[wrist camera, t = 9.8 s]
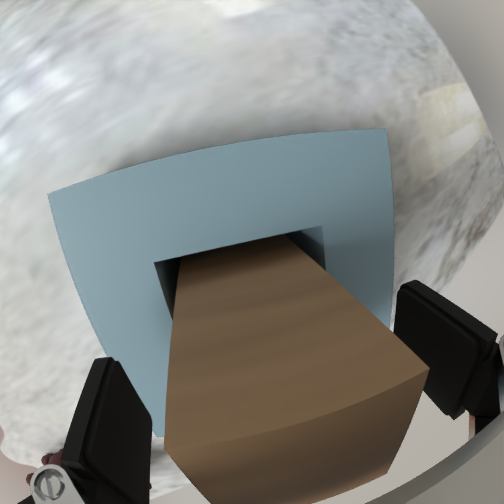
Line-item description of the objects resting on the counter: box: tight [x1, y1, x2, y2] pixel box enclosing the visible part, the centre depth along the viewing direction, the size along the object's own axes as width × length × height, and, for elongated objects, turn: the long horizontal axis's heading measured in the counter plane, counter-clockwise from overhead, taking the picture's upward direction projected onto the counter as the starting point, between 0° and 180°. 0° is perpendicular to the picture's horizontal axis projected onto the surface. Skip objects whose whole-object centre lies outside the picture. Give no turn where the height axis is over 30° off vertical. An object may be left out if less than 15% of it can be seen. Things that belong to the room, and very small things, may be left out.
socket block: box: [48, 129, 394, 437], centre depth 13 cm, size 13×13×5 cm
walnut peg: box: [164, 234, 430, 504], centre depth 10 cm, size 5×5×12 cm
